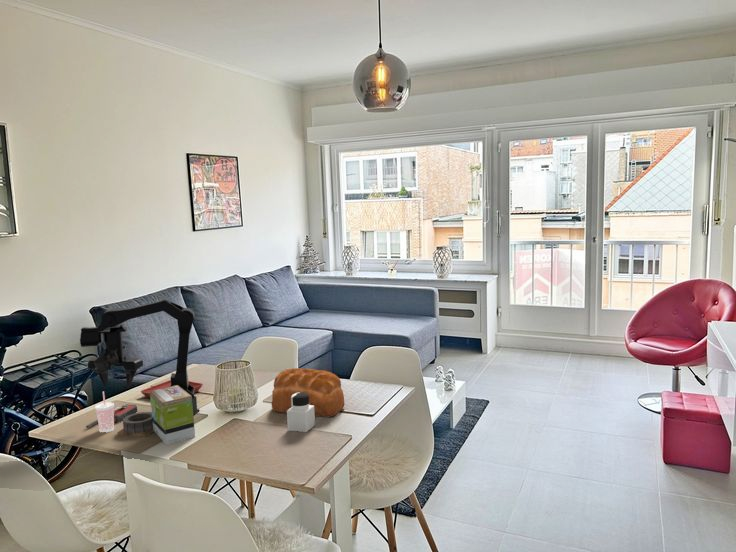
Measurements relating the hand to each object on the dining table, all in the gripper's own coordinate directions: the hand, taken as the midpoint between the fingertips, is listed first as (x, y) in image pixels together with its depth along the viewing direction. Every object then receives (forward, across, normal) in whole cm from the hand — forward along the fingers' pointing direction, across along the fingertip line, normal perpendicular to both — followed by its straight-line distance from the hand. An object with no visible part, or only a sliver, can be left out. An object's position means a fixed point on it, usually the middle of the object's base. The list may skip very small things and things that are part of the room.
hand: (117, 386), depth 204 cm
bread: (+13, +65, +20) cm, 69 cm away
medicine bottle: (+13, +68, +2) cm, 69 cm away
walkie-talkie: (+14, -4, +2) cm, 14 cm away
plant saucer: (+14, +3, +31) cm, 34 cm away
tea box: (+13, +26, -9) cm, 31 cm away
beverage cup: (+13, 0, -8) cm, 15 cm away
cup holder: (+13, +12, -6) cm, 19 cm away
